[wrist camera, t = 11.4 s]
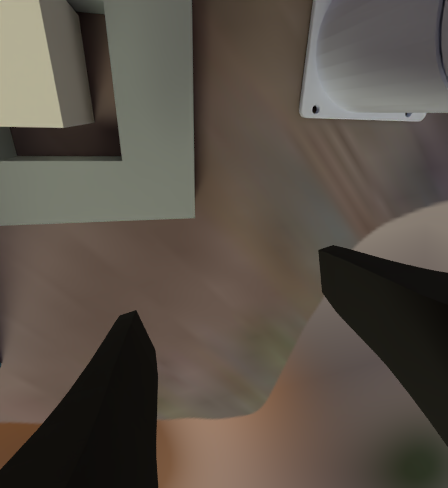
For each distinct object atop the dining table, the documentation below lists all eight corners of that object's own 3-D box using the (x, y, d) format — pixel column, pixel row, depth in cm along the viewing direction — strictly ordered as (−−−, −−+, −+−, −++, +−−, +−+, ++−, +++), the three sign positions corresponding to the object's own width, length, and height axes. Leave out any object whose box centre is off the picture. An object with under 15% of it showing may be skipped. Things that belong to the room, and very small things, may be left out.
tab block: (78, 15, 14) (30, -42, 9) (94, 122, 16) (63, 127, 11) (11, 9, 14) (-83, -57, 8) (37, 121, 16) (-25, 125, 10)
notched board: (186, -67, 14) (190, -93, 12) (191, 208, 20) (194, 217, 18) (-173, -123, 11) (-237, -169, 9) (-42, 216, 17) (-66, 228, 15)
